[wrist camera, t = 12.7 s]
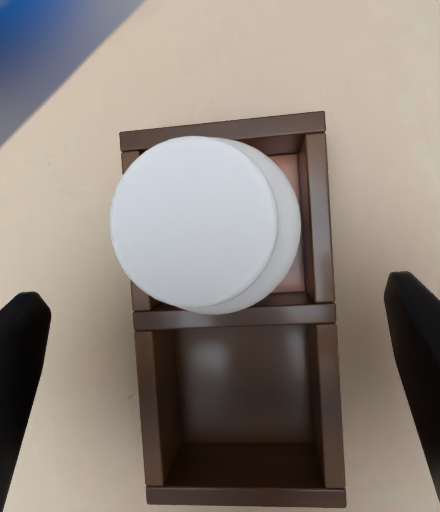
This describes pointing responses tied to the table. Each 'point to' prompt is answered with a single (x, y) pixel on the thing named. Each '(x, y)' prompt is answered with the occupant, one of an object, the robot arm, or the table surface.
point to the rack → (248, 356)
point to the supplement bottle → (205, 224)
